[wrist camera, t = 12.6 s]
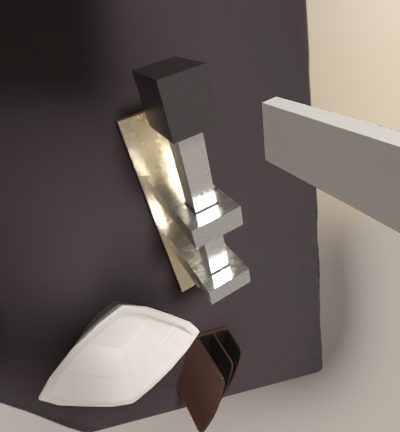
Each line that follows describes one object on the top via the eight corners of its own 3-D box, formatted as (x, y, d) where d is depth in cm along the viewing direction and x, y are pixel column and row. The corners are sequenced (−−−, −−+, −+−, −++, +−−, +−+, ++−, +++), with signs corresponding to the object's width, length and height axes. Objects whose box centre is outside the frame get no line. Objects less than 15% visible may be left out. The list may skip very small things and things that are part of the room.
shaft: (191, 260, 48) (212, 288, 43) (132, 70, 30) (156, 80, 25) (216, 246, 50) (240, 272, 44) (174, 56, 31) (206, 63, 26)
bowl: (123, 371, 65) (135, 408, 58) (21, 357, 49) (22, 405, 43) (189, 299, 63) (208, 329, 57) (106, 261, 48) (119, 297, 42)
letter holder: (176, 385, 79) (200, 439, 69) (193, 333, 71) (224, 386, 60) (206, 374, 84) (233, 423, 74) (226, 325, 76) (260, 372, 66)
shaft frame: (180, 288, 60) (214, 344, 49) (115, 120, 37) (153, 156, 27) (221, 265, 62) (262, 313, 52) (183, 95, 40) (242, 119, 30)
